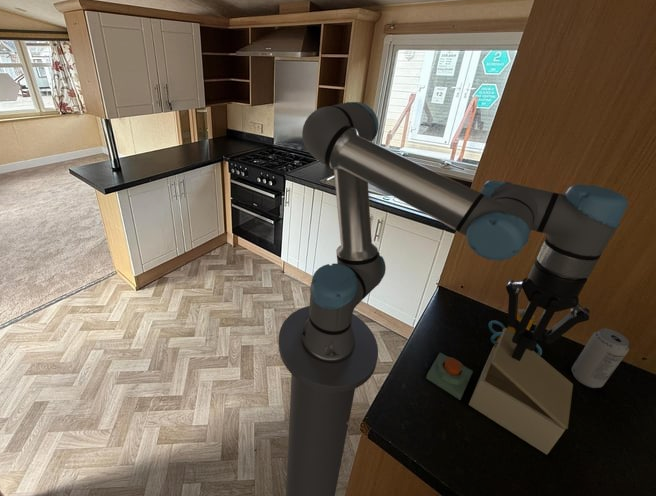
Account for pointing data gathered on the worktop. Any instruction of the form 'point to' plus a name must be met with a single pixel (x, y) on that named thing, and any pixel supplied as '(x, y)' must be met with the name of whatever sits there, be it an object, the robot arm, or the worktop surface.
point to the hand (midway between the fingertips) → (516, 355)
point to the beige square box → (514, 409)
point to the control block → (449, 377)
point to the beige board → (535, 379)
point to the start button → (452, 366)
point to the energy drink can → (600, 358)
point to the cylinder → (512, 329)
